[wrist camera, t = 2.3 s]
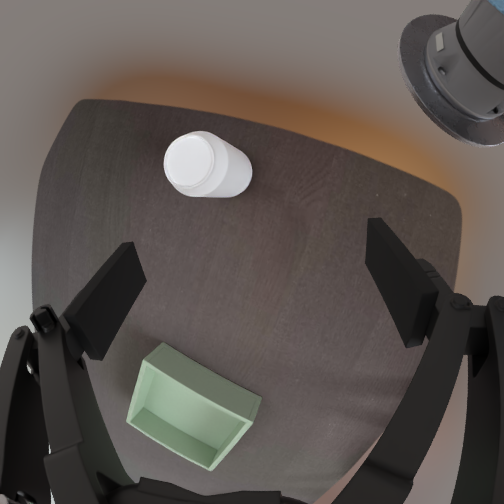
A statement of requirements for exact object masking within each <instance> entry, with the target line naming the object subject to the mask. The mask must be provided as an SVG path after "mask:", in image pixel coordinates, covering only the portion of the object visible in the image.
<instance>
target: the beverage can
mask: <svg viewBox="0 0 504 504" xmlns="http://www.w3.org/2000/svg"><path fill="white" fill-rule="evenodd" d="M164 171H165V174H166V176H167V178H168V180H169V181H170V182H171V183H172V185H173V186H174V187H175V188H176V189H177V190H178V191H179V192H181V193H182V194H184V195H187V196H192V197H233V196H236V195H238V194H240V193H241V192H243V191H244V190H245V189H246V188H247V186H248V185H249V183H250V181H251V177H252V166H251V163H250V161H249V159H248V157H247V156H246V155H245V154H244V153H243V152H241V151H240V150H238V149H237V148H235V147H234V146H232V145H230V144H229V143H227V142H225V141H224V140H222V139H220V138H219V137H217V136H215V135H213V134H211V133H209V132H205V131H196V132H191V133H189V134H186V135H183V136H181V137H179V138H177V139H176V140H175V141H173V142H172V144H171V145H170V146H169V148H168V149H167V151H166V154H165V157H164Z"/></svg>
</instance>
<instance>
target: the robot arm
mask: <svg viewBox="0 0 504 504" xmlns="http://www.w3.org/2000/svg"><path fill="white" fill-rule="evenodd" d="M424 57H425V63H426V67H427V70H428V72H429V74H430V76H431V78H432V80H433V82H434V84H435V85H436V87H437V88H438V89H439V91H440V92H441V93H442V95H443V96H444V97H445V98H446V99H447V100H448V101H449V102H450V103H451V104H452V105H453V106H454V107H456V108H457V109H458V110H460V111H461V112H463V113H464V114H466V115H468V116H470V117H473V118H475V119H479V120H490V119H493V118H495V117H498V116H500V115H502V114H503V113H504V0H471V2H470V3H469V5H468V6H467V8H466V9H465V10H464V12H463V13H462V15H461V16H460V18H459V19H458V21H457V22H454V23H452V24H449V25H447V26H445V27H442V28H440V29H438V30H436V31H435V32H433V34H432V35H431V36H430V38H429V40H428V41H427V43H426V45H425V50H424ZM365 264H366V266H367V268H368V269H369V271H370V273H371V275H372V277H373V279H374V281H375V283H376V285H377V287H378V289H379V291H380V293H381V295H382V297H383V299H384V301H385V303H386V305H387V307H388V310H389V312H390V314H391V316H392V318H393V320H394V322H395V325H396V327H397V329H398V331H399V334H400V336H401V338H402V340H403V343H404V345H405V347H406V348H410V347H414V346H419V345H422V343H423V340H424V338H425V335H426V336H427V338H428V340H429V343H428V345H427V347H426V350H425V352H424V355H423V357H422V359H421V362H420V364H419V366H418V368H417V371H416V373H415V375H414V377H413V379H412V381H411V383H410V385H409V387H408V389H407V391H406V393H405V395H404V397H403V399H402V401H401V403H400V405H399V406H398V408H397V410H396V412H395V414H394V415H393V417H392V419H391V421H390V422H389V424H388V426H387V427H386V429H385V431H384V432H383V434H382V436H381V437H380V439H379V440H378V442H377V444H376V445H375V447H374V448H373V450H372V451H371V453H370V454H369V456H368V457H367V458H366V460H365V461H364V463H363V464H362V465H361V467H360V468H359V469H358V471H357V472H356V473H355V475H354V476H353V477H352V479H351V480H350V481H349V483H348V484H347V485H346V487H345V488H344V489H343V490H342V491H341V493H340V494H339V495H338V496H337V497H336V499H335V500H334V501H333V502H332V503H331V504H403V503H404V501H405V500H406V498H407V496H408V494H409V493H410V491H411V489H412V486H413V479H414V477H415V475H416V473H417V471H418V469H419V467H420V465H421V463H422V461H423V460H424V457H425V456H426V454H427V452H428V450H429V448H430V446H431V443H432V441H433V439H434V437H435V435H436V432H437V430H438V427H439V425H440V423H441V420H442V418H443V415H444V413H445V410H446V408H447V405H448V402H449V399H450V397H451V394H452V391H453V388H454V385H455V382H456V379H457V376H458V372H459V369H460V366H461V362H462V358H463V355H468V397H467V414H466V425H465V434H464V442H463V449H462V455H461V461H460V466H459V471H458V476H457V480H456V485H455V489H454V493H453V497H452V500H451V504H504V297H501V296H493V297H491V298H490V299H489V301H488V304H487V306H479V305H473V303H472V302H471V300H470V299H469V298H467V297H466V296H464V295H462V294H458V293H453V291H452V290H451V289H450V287H449V286H448V285H447V283H446V282H445V281H444V280H443V278H442V277H440V274H439V273H438V272H436V269H435V268H434V267H433V266H432V265H431V264H430V263H429V262H427V261H426V260H424V259H423V258H422V259H415V258H414V257H413V255H412V254H411V253H410V252H409V250H408V249H407V248H406V247H405V245H404V244H403V243H402V242H401V241H400V239H399V238H398V237H397V236H396V235H395V233H394V232H393V231H392V230H391V229H390V228H389V226H388V225H387V224H386V223H385V222H384V221H383V220H382V218H368V225H367V244H366V259H365ZM146 282H147V280H146V278H145V275H144V272H143V269H142V266H141V263H140V261H139V258H138V255H137V252H136V249H135V246H134V243H133V242H126V243H122V244H121V245H120V246H119V247H118V248H117V250H116V251H115V252H114V253H113V254H112V255H111V256H110V258H109V259H108V260H107V261H106V262H105V263H104V264H103V266H102V267H101V268H100V269H99V270H98V271H97V273H96V274H95V275H94V276H93V277H92V279H91V280H90V281H89V282H88V283H87V285H86V286H85V287H84V288H83V289H82V290H81V291H80V292H79V293H78V294H77V295H76V297H75V298H74V299H73V300H72V302H71V303H70V304H69V305H68V307H67V308H66V309H65V311H64V312H63V313H62V315H61V316H60V317H59V319H58V317H57V316H56V314H55V312H54V310H53V309H52V307H51V305H49V304H47V305H43V306H40V307H39V308H37V309H36V310H35V311H34V312H33V313H32V314H31V316H30V320H31V322H32V323H33V325H34V327H35V328H36V330H37V331H38V332H35V333H32V332H31V331H30V329H29V328H28V326H21V327H18V328H17V329H16V330H15V331H14V332H13V333H12V335H11V337H10V340H9V343H8V346H7V348H6V351H5V354H4V357H3V361H2V364H1V367H0V504H51V492H52V495H53V498H54V501H55V504H307V503H305V502H303V501H300V500H297V499H294V498H290V497H285V496H282V495H281V491H239V492H232V493H226V494H219V495H211V496H203V495H200V494H197V493H194V492H192V491H189V490H186V489H184V488H181V487H179V486H177V485H174V484H172V483H168V482H163V481H158V480H153V479H149V478H144V477H140V481H139V483H134V481H133V480H132V479H131V478H130V477H129V476H128V475H127V473H126V472H125V470H124V468H123V466H122V464H121V462H120V459H119V457H118V455H117V453H116V450H115V448H114V446H113V443H112V441H111V439H110V436H109V434H108V431H107V429H106V426H105V423H104V421H103V418H102V415H101V412H100V410H99V407H98V404H97V401H96V398H95V394H94V391H93V388H92V385H91V381H90V378H89V374H88V371H87V367H86V363H85V360H84V359H83V357H82V354H83V352H84V350H85V352H86V353H87V355H88V356H89V358H90V359H93V360H100V361H102V360H103V358H104V356H105V354H106V353H107V351H108V349H109V347H110V345H111V343H112V341H113V339H114V338H115V336H116V334H117V332H118V330H119V328H120V327H121V325H122V323H123V321H124V319H125V318H126V316H127V314H128V312H129V311H130V309H131V307H132V305H133V304H134V302H135V300H136V298H137V297H138V295H139V293H140V292H141V290H142V288H143V287H144V285H145V283H146ZM27 365H28V366H29V367H30V368H31V374H30V373H29V371H28V369H27ZM49 445H50V449H51V454H49Z"/></svg>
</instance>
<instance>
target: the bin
mask: <svg viewBox="0 0 504 504" xmlns="http://www.w3.org/2000/svg"><path fill="white" fill-rule="evenodd" d="M261 400H262V397H260V396H258V395H256V394H254V393H252V392H250V391H248V390H246V389H244V388H242V387H240V386H239V385H237V384H235V383H233V382H231V381H229V380H227V379H225V378H223V377H222V376H220V375H218V374H216V373H214V372H213V371H211V370H209V369H207V368H205V367H204V366H202V365H200V364H199V363H197V362H195V361H193V360H192V359H190V358H188V357H187V356H185V355H183V354H182V353H180V352H179V351H177V350H175V349H174V348H172V347H171V346H169V345H167V344H166V343H164V342H162V343H161V344H160V345H159V346H158V347H157V348H156V349H154V350H153V351H152V352H151V353H150V354H149V355H148V356H146V357H145V358H144V359H143V362H142V365H141V368H140V372H139V375H138V379H137V382H136V386H135V389H134V393H133V397H132V400H131V404H130V408H129V412H128V416H127V420H126V422H127V423H129V424H130V425H132V426H133V427H135V428H136V429H138V430H139V431H141V432H142V433H144V434H145V435H147V436H148V437H150V438H151V439H153V440H155V441H156V442H158V443H159V444H161V445H163V446H164V447H166V448H168V449H169V450H171V451H173V452H175V453H176V454H178V455H180V456H182V457H184V458H186V459H187V460H189V461H191V462H193V463H195V464H197V465H199V466H201V467H203V468H205V469H207V470H209V471H212V470H213V469H214V468H215V467H216V466H217V465H218V464H219V463H220V461H221V460H222V459H223V458H224V457H225V456H226V455H227V453H228V452H229V451H230V450H231V449H232V448H233V446H234V445H235V444H236V443H237V442H238V441H239V439H240V438H241V437H242V436H243V435H244V433H245V432H246V431H247V430H248V428H249V427H250V426H251V425H252V423H253V422H254V419H255V417H256V414H257V411H258V408H259V405H260V403H261Z"/></svg>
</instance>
